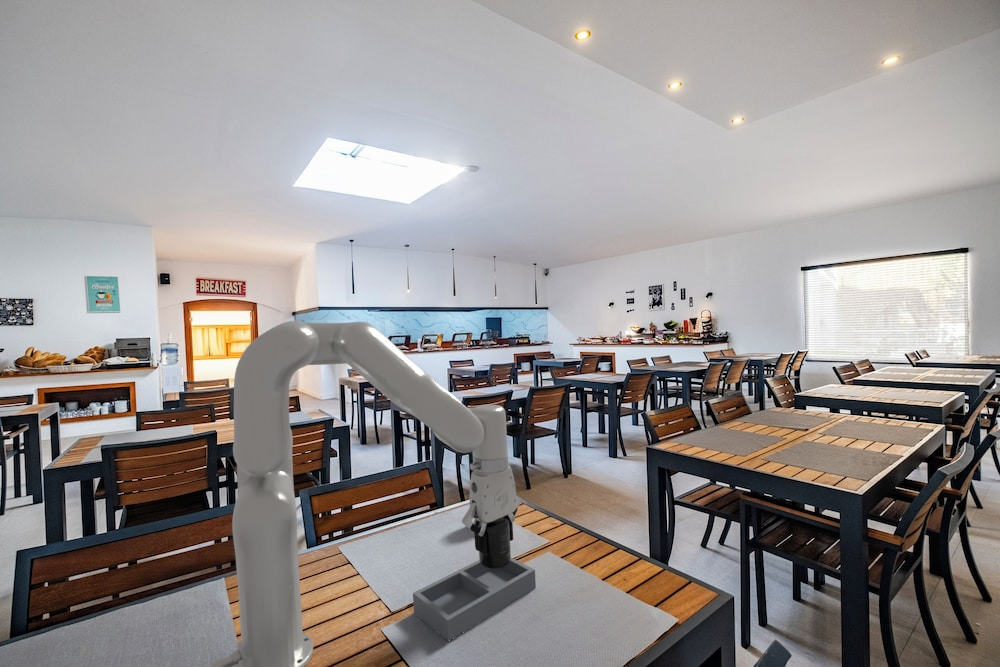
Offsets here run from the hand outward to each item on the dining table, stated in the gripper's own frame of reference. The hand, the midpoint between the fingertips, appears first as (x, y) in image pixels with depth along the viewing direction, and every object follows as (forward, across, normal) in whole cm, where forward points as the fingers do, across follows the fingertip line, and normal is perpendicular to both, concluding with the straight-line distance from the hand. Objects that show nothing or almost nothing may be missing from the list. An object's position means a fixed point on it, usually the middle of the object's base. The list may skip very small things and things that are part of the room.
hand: (494, 544), depth 99 cm
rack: (+10, -6, 0) cm, 11 cm away
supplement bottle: (+4, 0, 0) cm, 4 cm away
